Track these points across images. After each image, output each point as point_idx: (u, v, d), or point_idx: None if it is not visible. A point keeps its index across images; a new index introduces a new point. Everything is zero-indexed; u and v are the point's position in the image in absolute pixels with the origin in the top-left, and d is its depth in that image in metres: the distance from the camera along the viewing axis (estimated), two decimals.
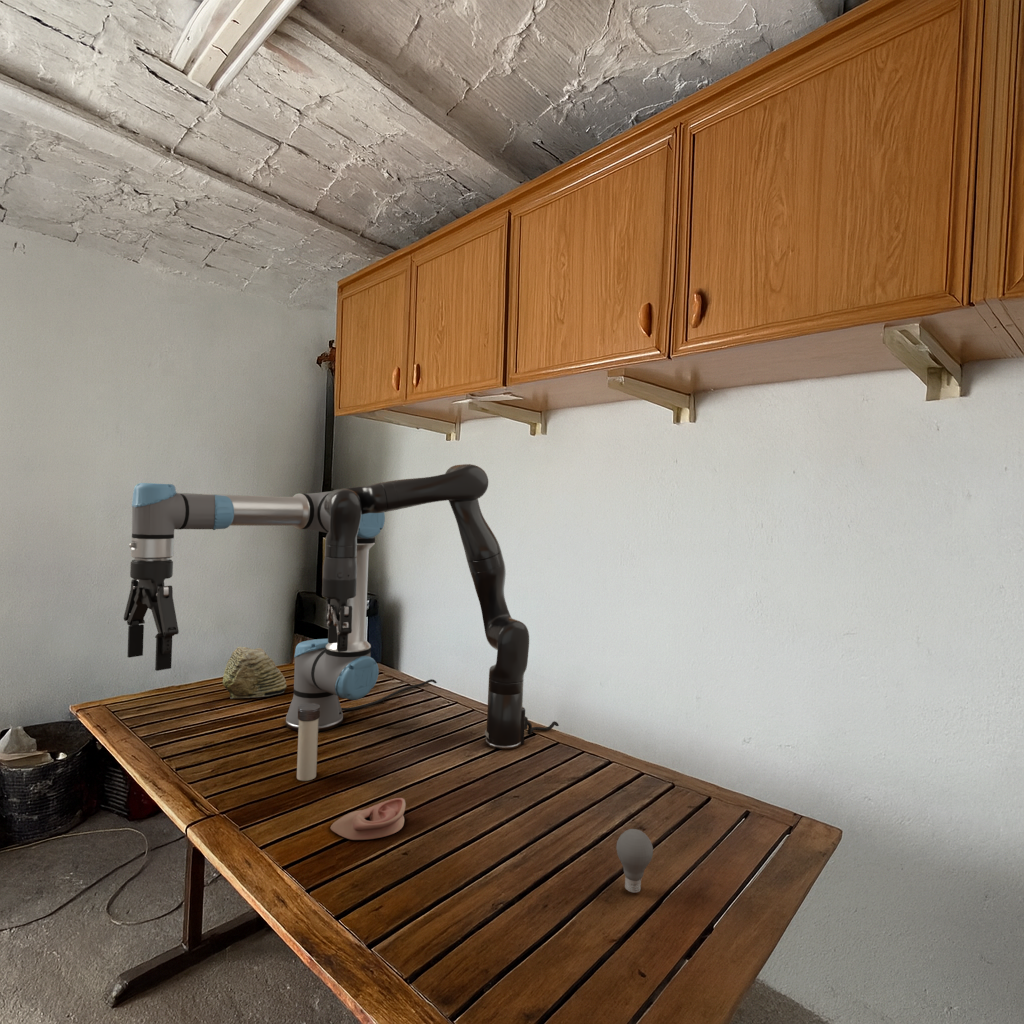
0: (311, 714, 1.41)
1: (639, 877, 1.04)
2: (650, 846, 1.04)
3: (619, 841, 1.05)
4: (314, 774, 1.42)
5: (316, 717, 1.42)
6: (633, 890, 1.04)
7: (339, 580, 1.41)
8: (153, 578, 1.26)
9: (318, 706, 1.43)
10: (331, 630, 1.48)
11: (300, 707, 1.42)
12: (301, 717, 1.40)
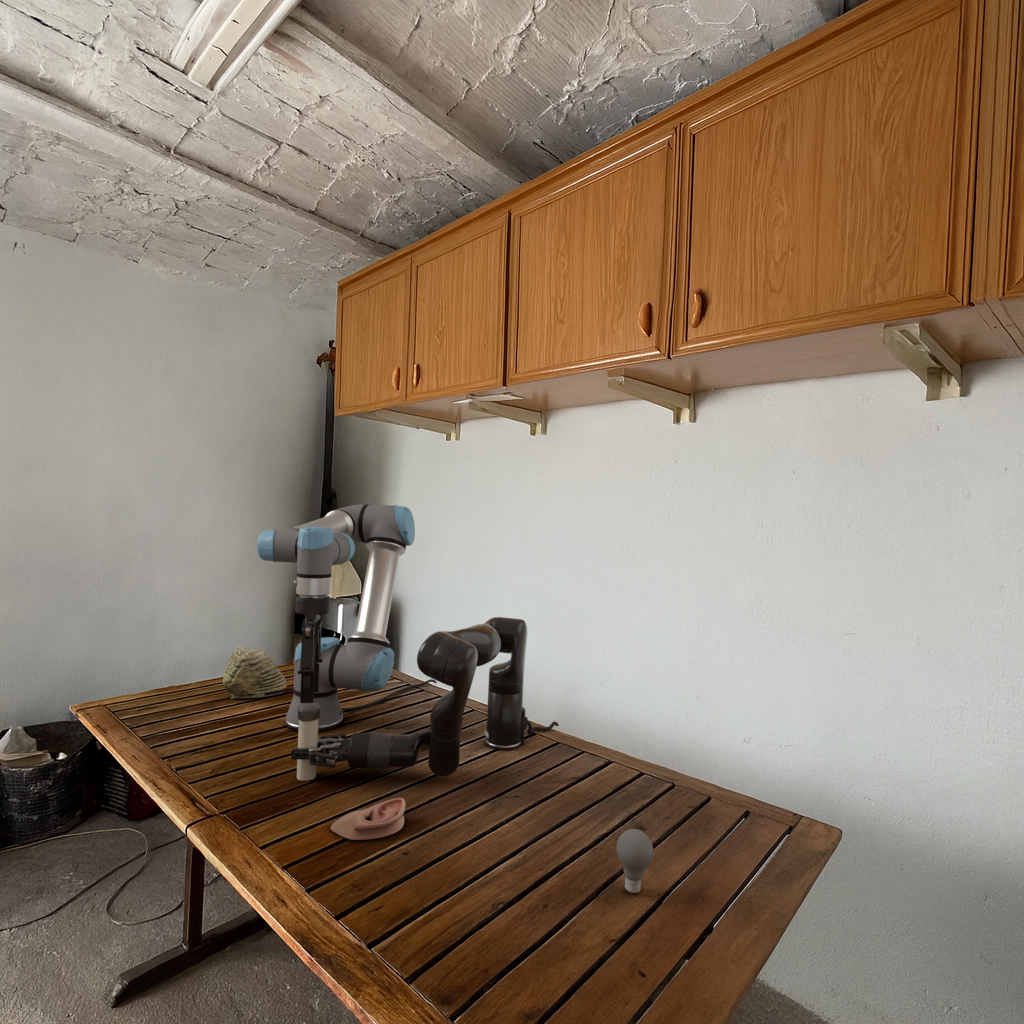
0: (311, 714, 1.41)
1: (639, 877, 1.04)
2: (650, 846, 1.04)
3: (619, 841, 1.05)
4: (314, 774, 1.42)
5: (316, 717, 1.42)
6: (633, 890, 1.04)
7: None
8: (305, 614, 1.38)
9: (318, 706, 1.43)
10: None
11: (300, 707, 1.42)
12: (301, 717, 1.40)
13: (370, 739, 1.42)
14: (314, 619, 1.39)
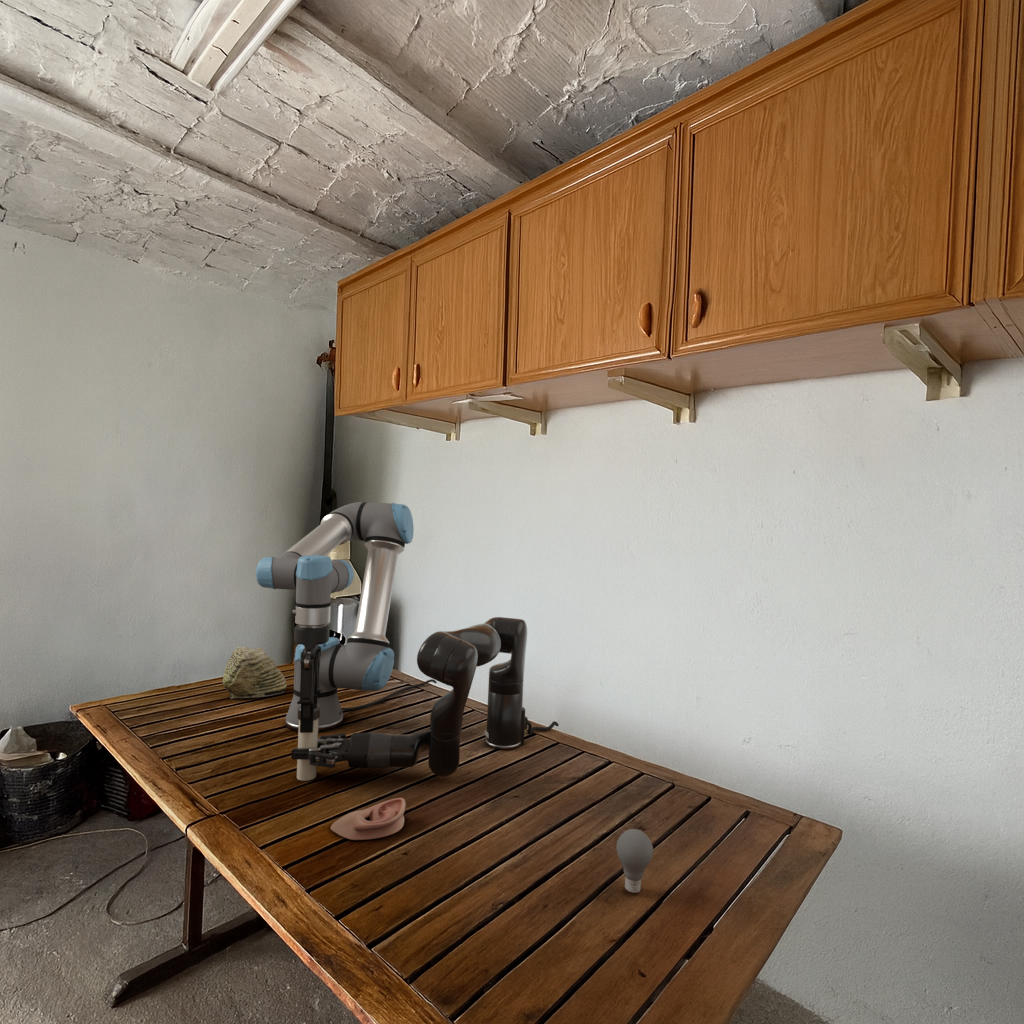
0: None
1: (639, 877, 1.04)
2: (650, 846, 1.04)
3: (619, 841, 1.05)
4: (314, 774, 1.42)
5: (316, 717, 1.42)
6: (633, 890, 1.04)
7: None
8: (304, 644, 1.39)
9: (318, 706, 1.43)
10: None
11: (300, 707, 1.42)
12: None
13: (370, 739, 1.42)
14: (313, 649, 1.39)
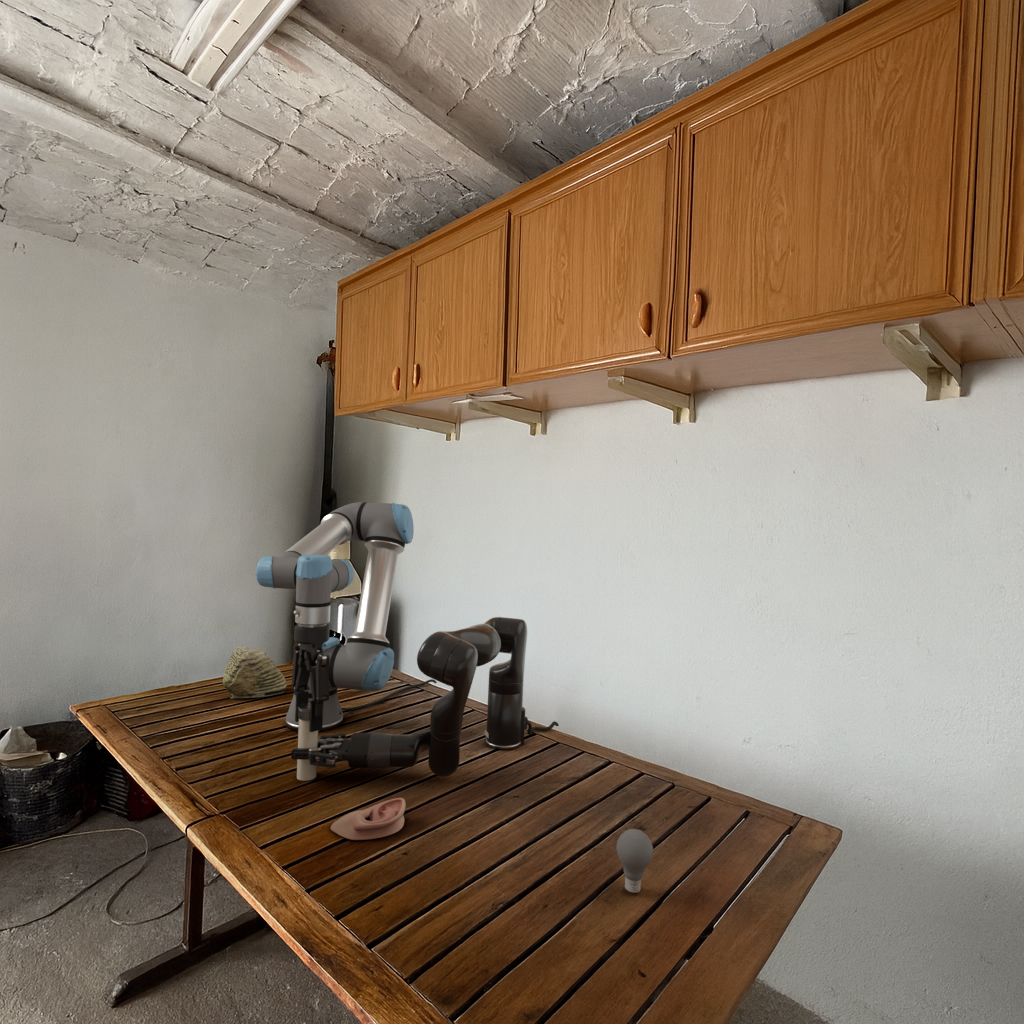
0: None
1: (639, 877, 1.04)
2: (650, 846, 1.04)
3: (619, 841, 1.05)
4: (314, 774, 1.42)
5: None
6: (633, 890, 1.04)
7: None
8: (314, 643, 1.39)
9: None
10: None
11: (308, 708, 1.41)
12: None
13: (370, 739, 1.42)
14: (322, 647, 1.40)
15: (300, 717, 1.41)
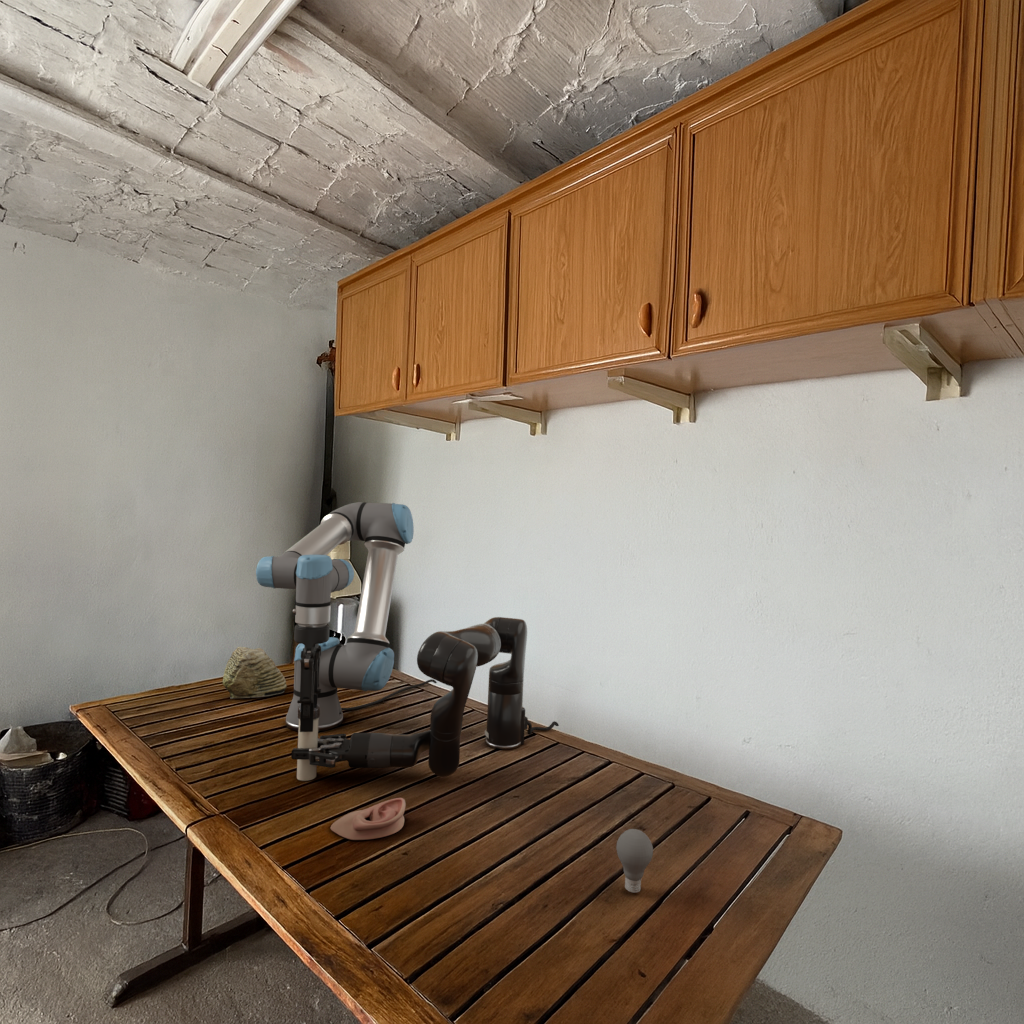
0: (319, 709, 1.43)
1: (639, 877, 1.04)
2: (650, 846, 1.04)
3: (619, 841, 1.05)
4: (314, 774, 1.42)
5: None
6: (633, 890, 1.04)
7: None
8: (304, 643, 1.39)
9: None
10: None
11: None
12: (315, 716, 1.41)
13: (370, 739, 1.42)
14: (313, 648, 1.39)
15: None
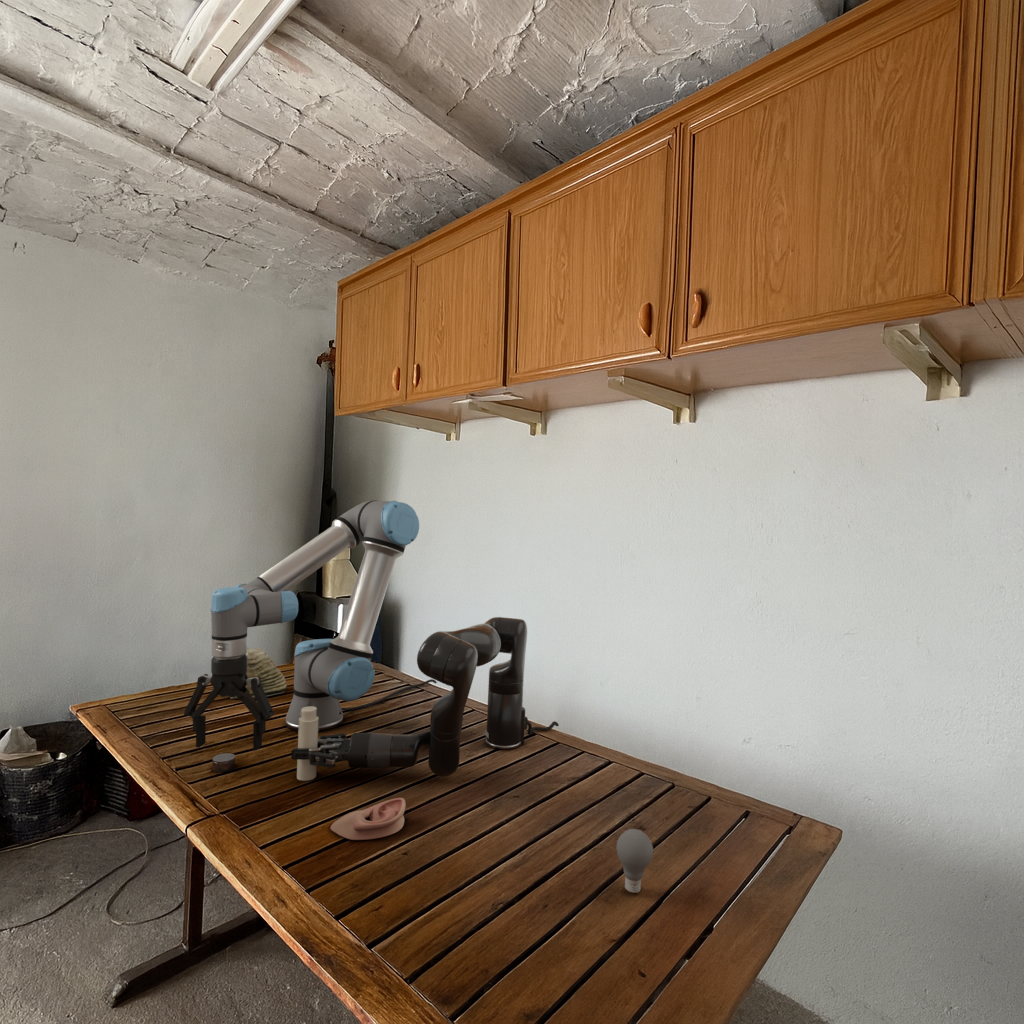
0: None
1: (639, 877, 1.04)
2: (650, 846, 1.04)
3: (619, 841, 1.05)
4: (314, 774, 1.42)
5: None
6: (633, 890, 1.04)
7: None
8: (242, 672, 1.44)
9: (216, 756, 1.46)
10: None
11: (232, 757, 1.45)
12: None
13: (370, 739, 1.42)
14: None
15: (227, 769, 1.44)
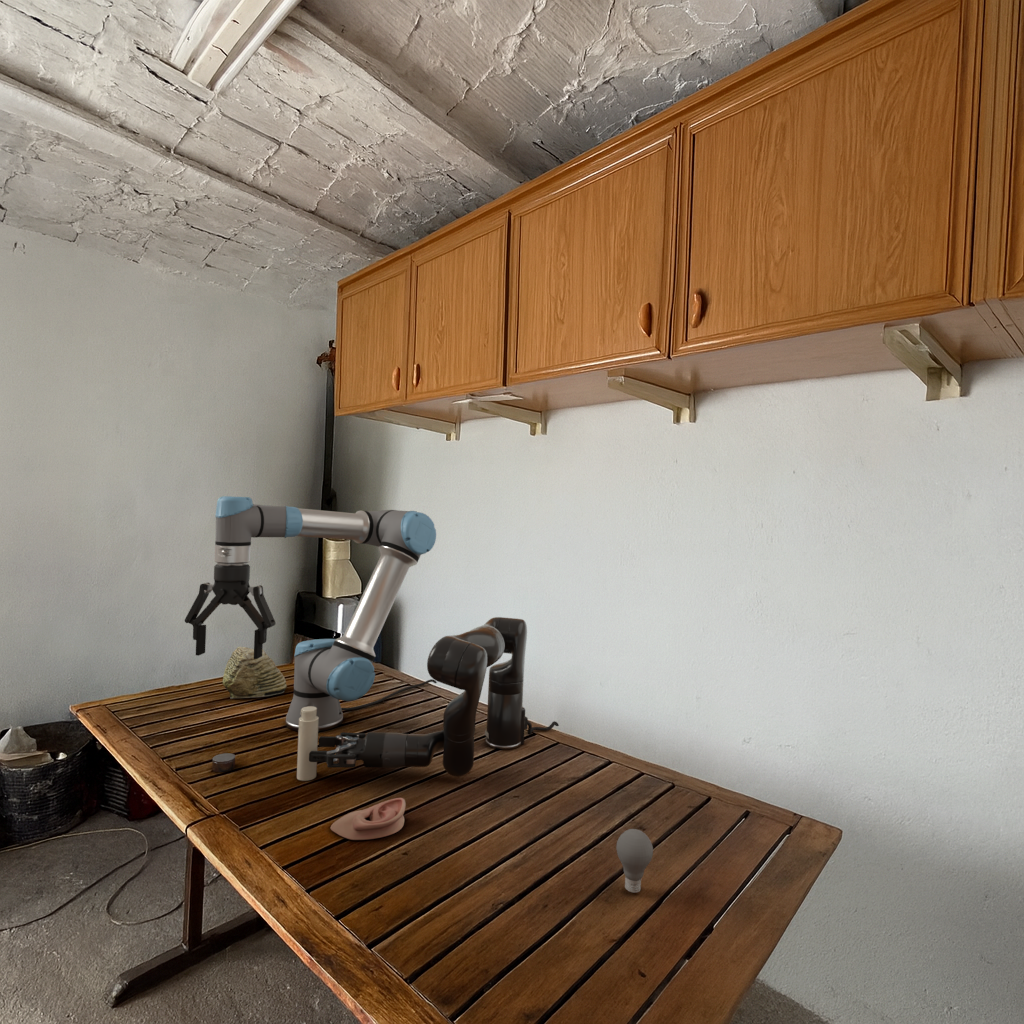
0: None
1: (639, 877, 1.04)
2: (650, 846, 1.04)
3: (619, 841, 1.05)
4: (314, 774, 1.42)
5: None
6: (633, 890, 1.04)
7: None
8: (244, 580, 1.44)
9: (216, 756, 1.46)
10: None
11: (232, 757, 1.45)
12: None
13: (385, 739, 1.42)
14: None
15: (227, 769, 1.44)
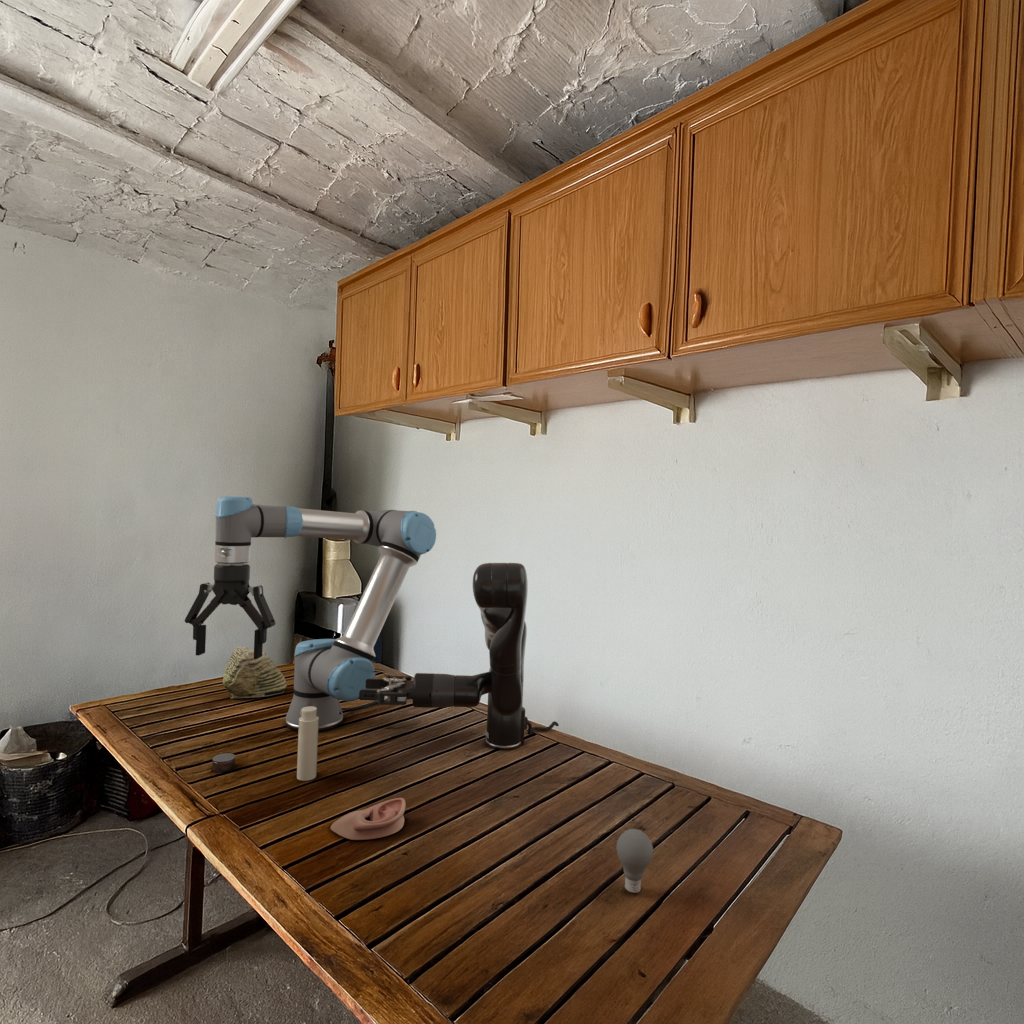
0: None
1: (639, 877, 1.04)
2: (650, 846, 1.04)
3: (619, 841, 1.05)
4: (314, 774, 1.42)
5: None
6: (633, 890, 1.04)
7: None
8: (244, 580, 1.44)
9: (216, 756, 1.46)
10: None
11: (232, 757, 1.45)
12: None
13: (434, 678, 1.43)
14: None
15: (227, 769, 1.44)
